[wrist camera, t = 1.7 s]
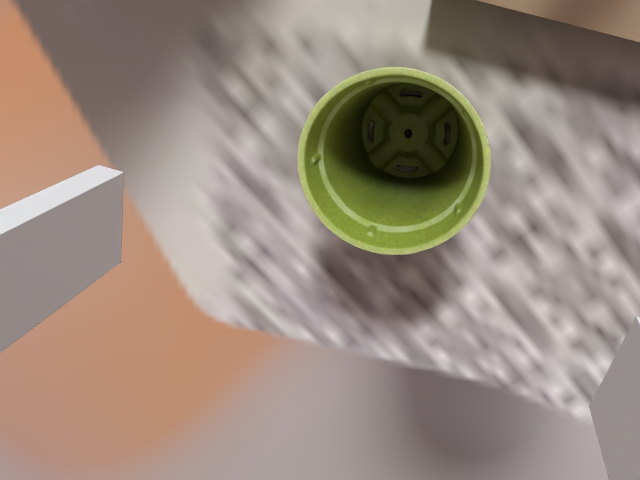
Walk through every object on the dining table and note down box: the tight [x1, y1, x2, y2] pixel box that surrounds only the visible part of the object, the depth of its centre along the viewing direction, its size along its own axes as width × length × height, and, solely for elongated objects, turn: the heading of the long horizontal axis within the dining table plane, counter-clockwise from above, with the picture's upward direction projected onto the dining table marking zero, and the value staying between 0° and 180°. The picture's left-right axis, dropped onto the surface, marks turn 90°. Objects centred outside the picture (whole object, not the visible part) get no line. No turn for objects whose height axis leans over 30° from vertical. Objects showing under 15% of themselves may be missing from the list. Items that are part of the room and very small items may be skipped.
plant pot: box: [298, 67, 491, 255], centre depth 31 cm, size 9×9×9 cm
